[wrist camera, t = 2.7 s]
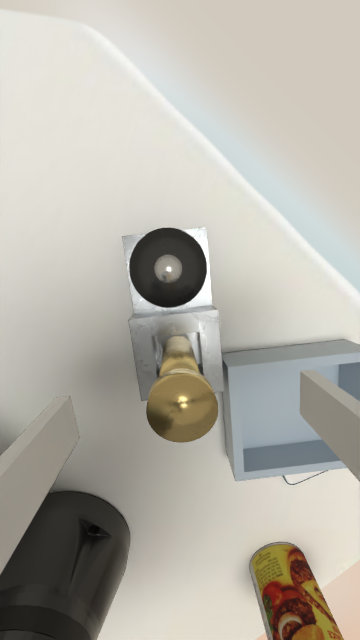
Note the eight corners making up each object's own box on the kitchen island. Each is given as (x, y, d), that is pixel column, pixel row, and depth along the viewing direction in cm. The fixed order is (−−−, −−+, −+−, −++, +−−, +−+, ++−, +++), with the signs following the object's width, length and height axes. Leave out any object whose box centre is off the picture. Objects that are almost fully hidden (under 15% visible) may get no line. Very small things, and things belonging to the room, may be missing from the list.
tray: (227, 453, 27) (235, 481, 23) (219, 353, 24) (227, 367, 20) (339, 440, 27) (365, 465, 23) (345, 339, 24) (374, 350, 21)
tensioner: (217, 379, 25) (224, 396, 21) (146, 387, 24) (142, 405, 21) (205, 228, 21) (211, 219, 18) (123, 237, 21) (114, 230, 18)
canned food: (313, 568, 31) (399, 747, 19) (265, 592, 32) (319, 779, 20) (289, 533, 30) (367, 703, 18) (239, 558, 30) (281, 739, 18)
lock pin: (160, 370, 22) (151, 446, 13) (155, 333, 22) (141, 382, 12) (199, 366, 23) (220, 438, 13) (195, 328, 22) (215, 373, 12)
